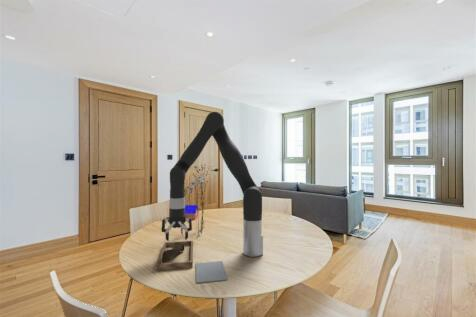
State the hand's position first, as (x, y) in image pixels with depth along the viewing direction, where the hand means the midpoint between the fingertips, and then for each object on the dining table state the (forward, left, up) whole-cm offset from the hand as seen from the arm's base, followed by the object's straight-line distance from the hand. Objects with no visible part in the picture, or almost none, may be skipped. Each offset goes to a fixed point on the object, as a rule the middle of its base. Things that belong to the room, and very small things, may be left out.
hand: (176, 239), depth 110 cm
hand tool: (-1, -1, -11) cm, 11 cm away
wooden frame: (0, 0, -8) cm, 8 cm away
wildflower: (-7, -28, -8) cm, 30 cm away
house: (-1, -66, -9) cm, 67 cm away
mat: (-15, +18, -8) cm, 25 cm away
